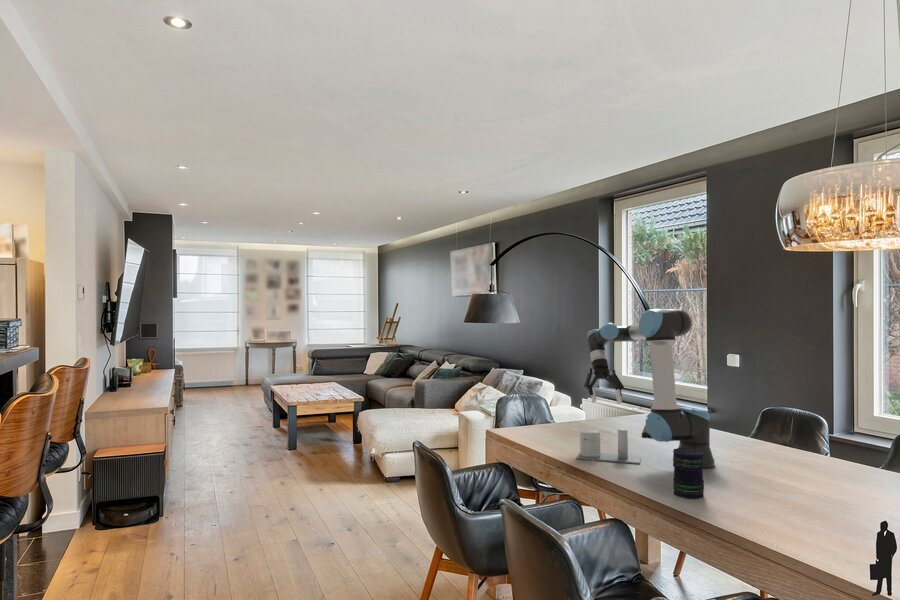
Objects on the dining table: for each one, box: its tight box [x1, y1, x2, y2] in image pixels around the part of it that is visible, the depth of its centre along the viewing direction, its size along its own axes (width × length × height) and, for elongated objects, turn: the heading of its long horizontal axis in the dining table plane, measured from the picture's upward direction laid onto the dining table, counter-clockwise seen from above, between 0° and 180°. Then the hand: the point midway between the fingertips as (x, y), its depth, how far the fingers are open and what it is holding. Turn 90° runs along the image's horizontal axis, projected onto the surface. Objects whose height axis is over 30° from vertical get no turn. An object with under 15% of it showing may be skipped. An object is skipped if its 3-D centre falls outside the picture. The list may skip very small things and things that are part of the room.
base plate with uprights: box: [576, 428, 641, 465], centre depth 250 cm, size 26×12×13 cm, turn 71°
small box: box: [579, 429, 601, 457], centre depth 252 cm, size 8×6×10 cm
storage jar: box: [672, 447, 705, 500], centre depth 200 cm, size 10×10×15 cm
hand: (607, 402), depth 271 cm, fingers open, 13 cm apart
